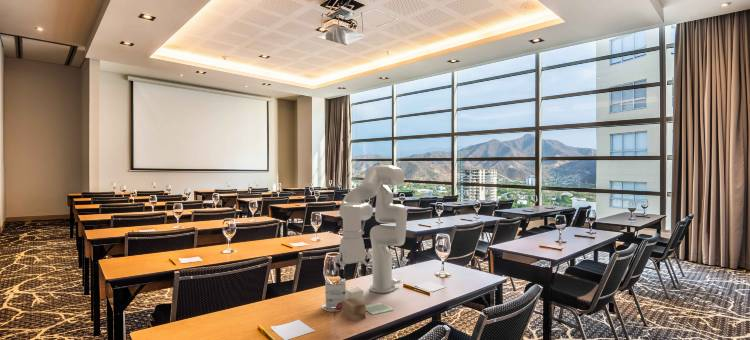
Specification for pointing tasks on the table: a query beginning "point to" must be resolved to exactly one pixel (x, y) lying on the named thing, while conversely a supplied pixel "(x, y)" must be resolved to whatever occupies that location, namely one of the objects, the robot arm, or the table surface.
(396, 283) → the robot arm
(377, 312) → the mat
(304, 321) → the table surface
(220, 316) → the table surface
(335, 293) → the ink box
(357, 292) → the cream brick
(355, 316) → the walnut brick
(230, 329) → the table surface
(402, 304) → the table surface
